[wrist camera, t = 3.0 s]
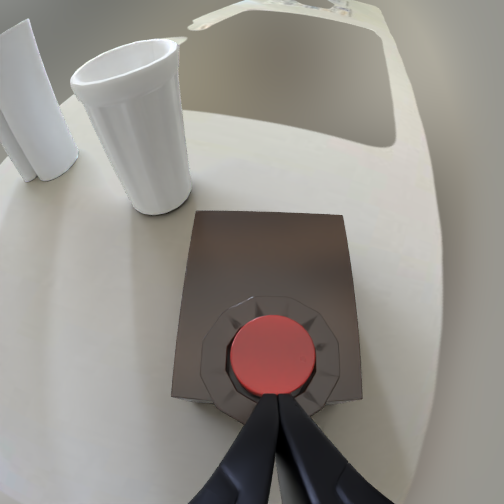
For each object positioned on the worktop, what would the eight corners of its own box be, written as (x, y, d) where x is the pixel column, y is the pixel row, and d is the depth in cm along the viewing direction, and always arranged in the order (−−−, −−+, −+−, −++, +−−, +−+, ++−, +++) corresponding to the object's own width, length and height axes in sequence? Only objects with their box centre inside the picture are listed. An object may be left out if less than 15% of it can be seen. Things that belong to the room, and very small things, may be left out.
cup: (107, 211, 27) (48, 88, 14) (152, 158, 30) (121, 41, 18) (174, 237, 25) (125, 86, 13) (216, 174, 29) (202, 37, 17)
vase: (88, 146, 32) (40, 12, 15) (57, 185, 29) (-12, 44, 12) (39, 145, 34) (-8, 39, 17) (11, 180, 30) (-49, 70, 13)
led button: (308, 397, 12) (316, 395, 11) (230, 397, 12) (227, 395, 11) (307, 326, 14) (314, 314, 13) (234, 324, 14) (232, 313, 13)
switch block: (336, 420, 17) (376, 421, 11) (189, 418, 17) (159, 419, 11) (327, 253, 24) (349, 197, 18) (205, 250, 24) (191, 192, 18)
